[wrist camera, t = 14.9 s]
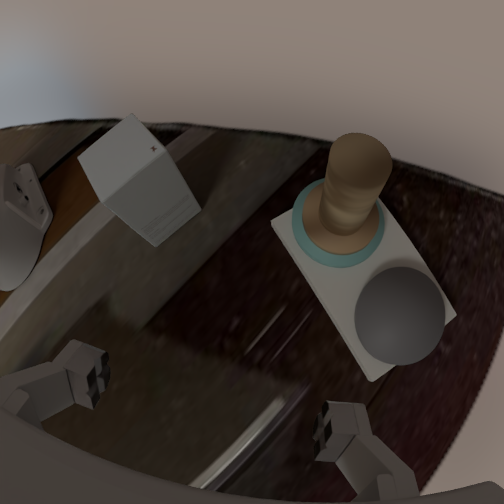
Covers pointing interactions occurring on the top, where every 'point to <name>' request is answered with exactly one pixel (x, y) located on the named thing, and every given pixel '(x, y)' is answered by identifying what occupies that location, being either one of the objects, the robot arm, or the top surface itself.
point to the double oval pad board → (372, 291)
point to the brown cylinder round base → (348, 195)
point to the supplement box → (139, 181)
